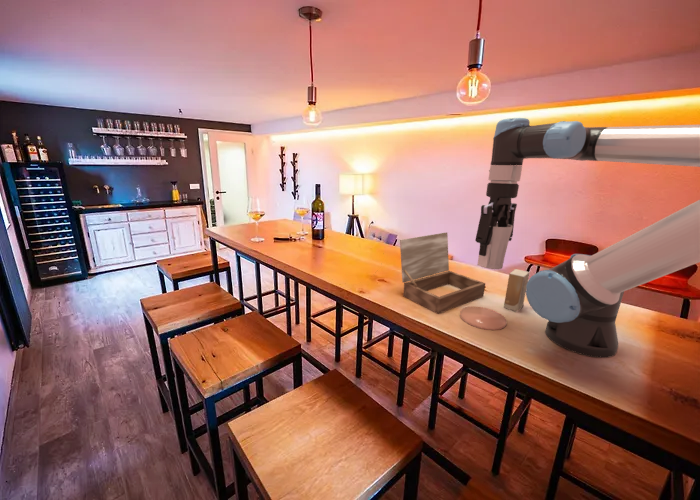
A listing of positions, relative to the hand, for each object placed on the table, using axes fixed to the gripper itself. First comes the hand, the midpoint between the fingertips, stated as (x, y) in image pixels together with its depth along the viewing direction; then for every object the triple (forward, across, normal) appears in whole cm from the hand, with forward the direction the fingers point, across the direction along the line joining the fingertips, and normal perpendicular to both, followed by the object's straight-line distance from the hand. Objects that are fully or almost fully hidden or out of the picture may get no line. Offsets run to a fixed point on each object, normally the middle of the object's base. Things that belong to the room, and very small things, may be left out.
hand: (490, 263), depth 84 cm
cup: (+1, 0, 0) cm, 1 cm away
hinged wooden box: (+18, -3, -19) cm, 26 cm away
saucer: (+18, 0, 0) cm, 18 cm away
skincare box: (+18, -16, +1) cm, 24 cm away
